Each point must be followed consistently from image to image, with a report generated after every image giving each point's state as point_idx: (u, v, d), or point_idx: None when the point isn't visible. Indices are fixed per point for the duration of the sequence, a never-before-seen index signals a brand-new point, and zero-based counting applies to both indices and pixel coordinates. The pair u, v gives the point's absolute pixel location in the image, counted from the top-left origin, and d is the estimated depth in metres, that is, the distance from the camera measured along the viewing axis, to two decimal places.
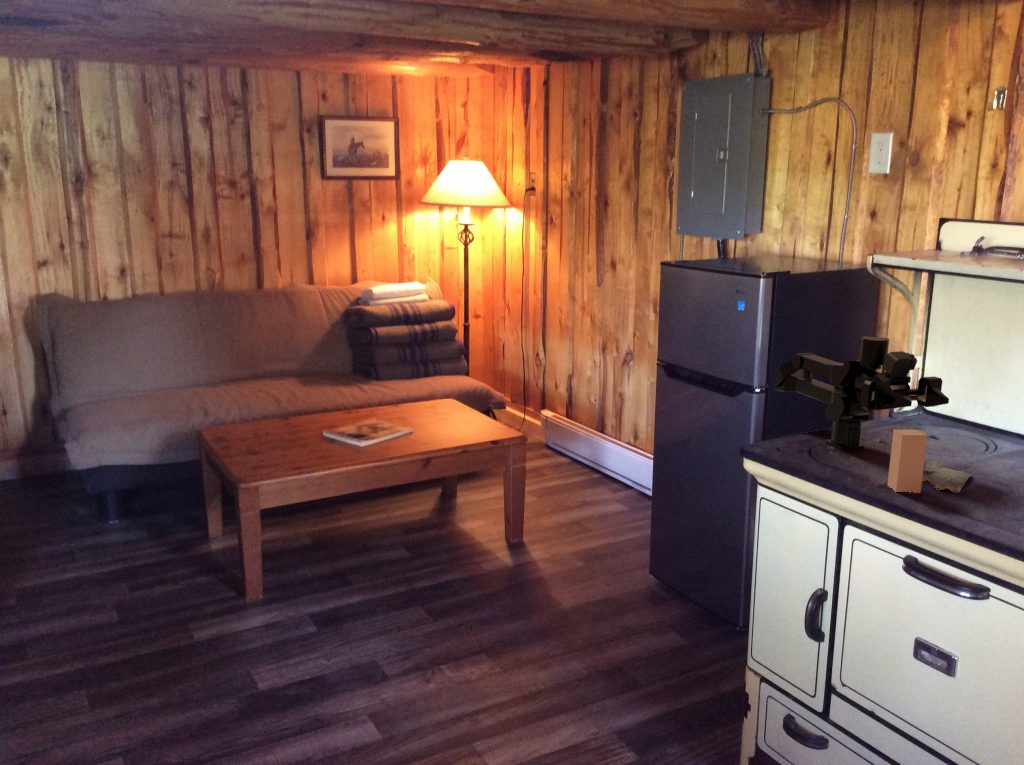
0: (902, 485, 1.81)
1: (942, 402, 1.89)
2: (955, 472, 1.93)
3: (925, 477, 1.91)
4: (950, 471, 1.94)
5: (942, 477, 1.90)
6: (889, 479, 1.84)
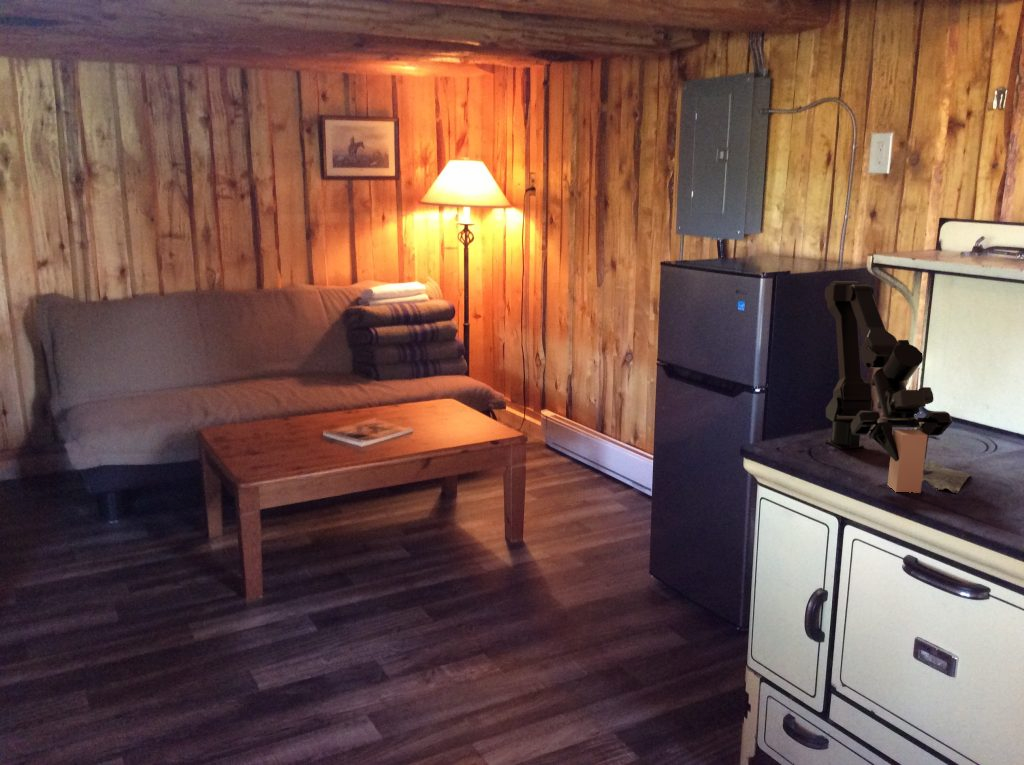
0: (902, 484, 1.81)
1: None
2: (954, 472, 1.93)
3: (924, 477, 1.91)
4: (949, 471, 1.94)
5: (941, 477, 1.90)
6: (889, 479, 1.84)
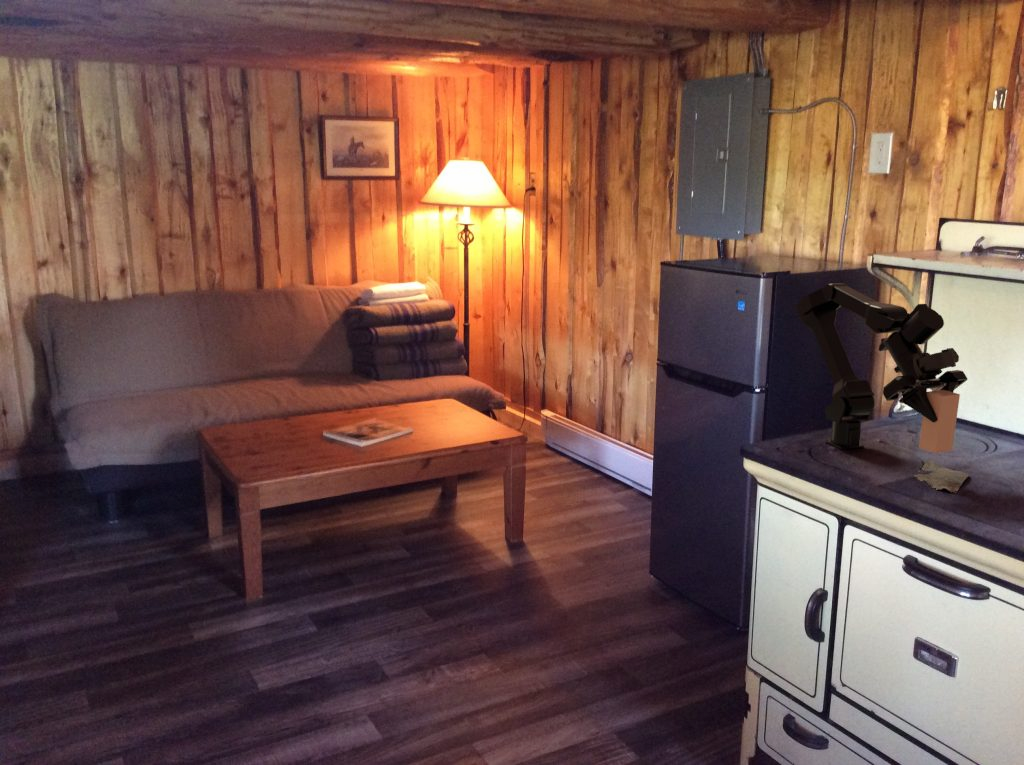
0: (939, 444, 1.86)
1: None
2: (953, 472, 1.93)
3: (923, 477, 1.91)
4: (948, 471, 1.94)
5: (940, 477, 1.90)
6: (922, 440, 1.88)
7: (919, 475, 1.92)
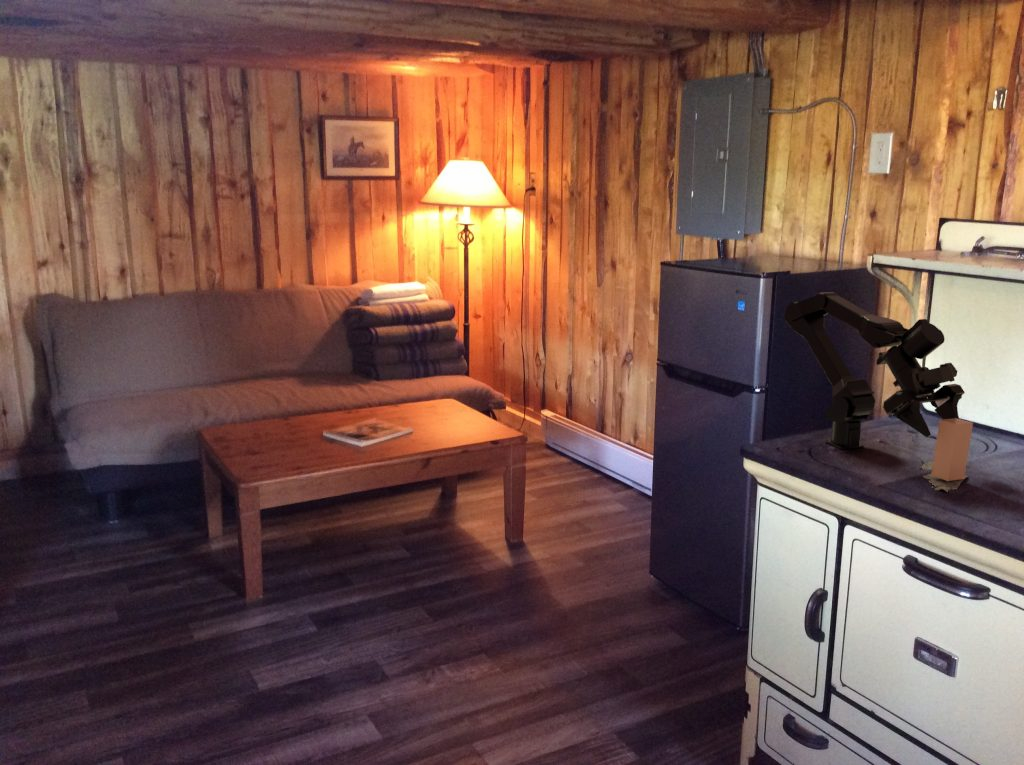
0: (952, 472, 1.87)
1: None
2: None
3: None
4: None
5: (938, 478, 1.90)
6: (934, 468, 1.89)
7: None
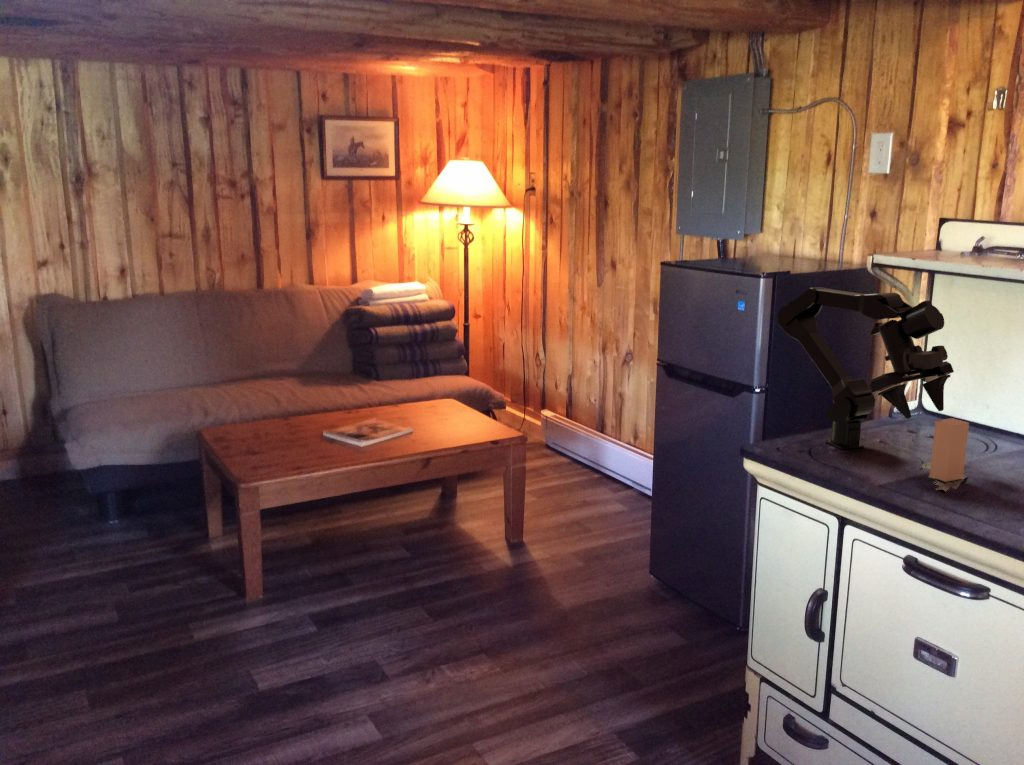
0: (950, 473, 1.87)
1: (936, 406, 1.98)
2: None
3: None
4: None
5: None
6: (932, 469, 1.89)
7: None
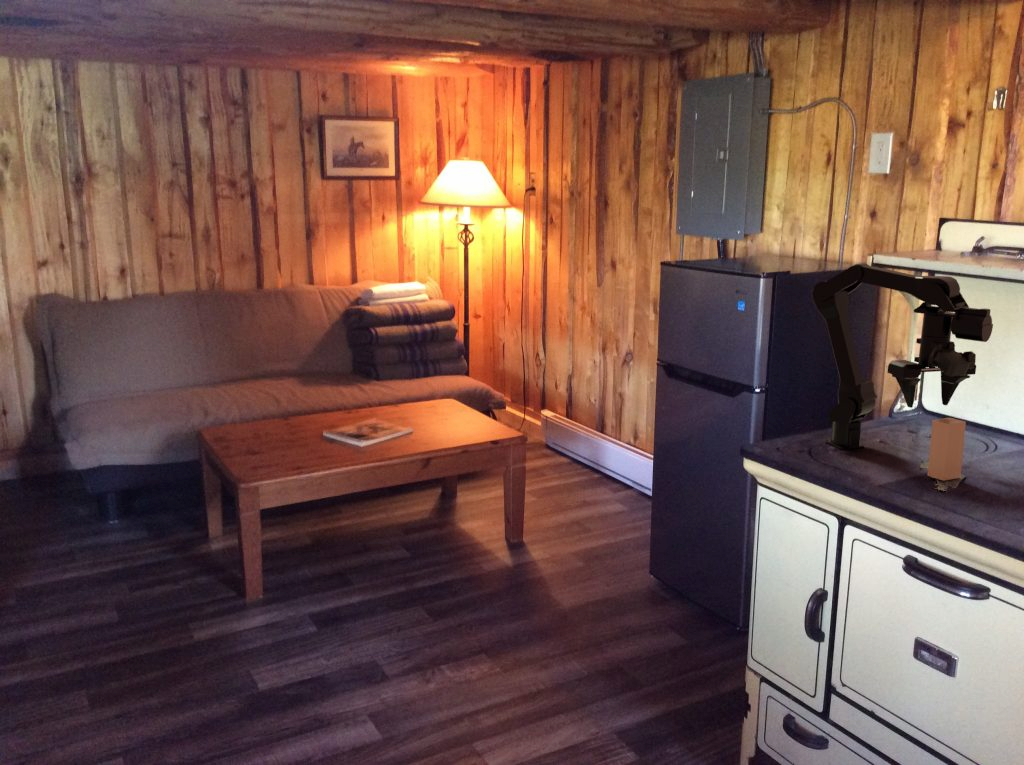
0: (948, 472, 1.87)
1: (942, 398, 2.00)
2: None
3: None
4: None
5: (936, 478, 1.91)
6: (930, 468, 1.90)
7: None
